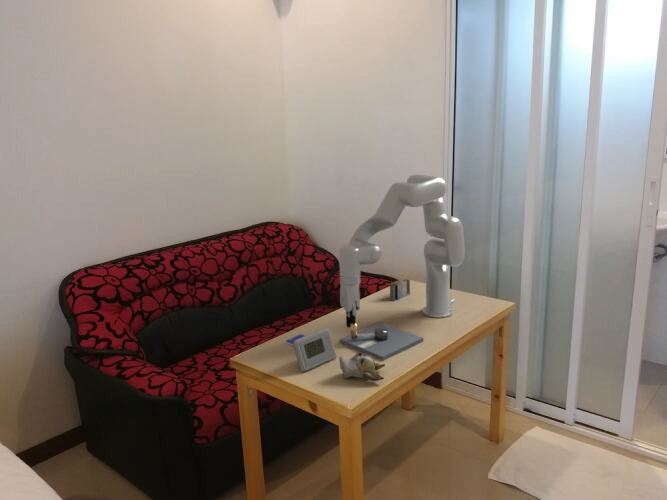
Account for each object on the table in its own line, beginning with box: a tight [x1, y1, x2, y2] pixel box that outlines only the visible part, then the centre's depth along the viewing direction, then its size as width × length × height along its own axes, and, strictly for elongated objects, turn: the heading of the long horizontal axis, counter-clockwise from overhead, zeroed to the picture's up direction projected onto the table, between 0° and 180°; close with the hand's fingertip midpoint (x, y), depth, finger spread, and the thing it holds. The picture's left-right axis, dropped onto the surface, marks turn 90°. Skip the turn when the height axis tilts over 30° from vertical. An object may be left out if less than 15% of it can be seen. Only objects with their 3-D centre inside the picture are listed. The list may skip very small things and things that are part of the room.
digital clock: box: [293, 327, 337, 372], centre depth 192 cm, size 16×9×11 cm, turn 122°
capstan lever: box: [350, 322, 388, 340], centre depth 206 cm, size 14×5×6 cm, turn 94°
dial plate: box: [338, 322, 424, 361], centre depth 208 cm, size 22×22×2 cm
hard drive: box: [285, 333, 306, 347], centre depth 209 cm, size 2×8×12 cm
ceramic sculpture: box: [338, 352, 386, 382], centre depth 181 cm, size 11×9×15 cm
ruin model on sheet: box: [389, 278, 411, 302], centre depth 253 cm, size 11×3×10 cm, turn 135°
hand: (351, 326), depth 208 cm, fingers closed
